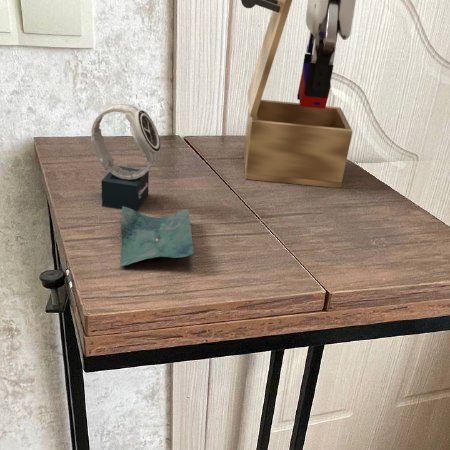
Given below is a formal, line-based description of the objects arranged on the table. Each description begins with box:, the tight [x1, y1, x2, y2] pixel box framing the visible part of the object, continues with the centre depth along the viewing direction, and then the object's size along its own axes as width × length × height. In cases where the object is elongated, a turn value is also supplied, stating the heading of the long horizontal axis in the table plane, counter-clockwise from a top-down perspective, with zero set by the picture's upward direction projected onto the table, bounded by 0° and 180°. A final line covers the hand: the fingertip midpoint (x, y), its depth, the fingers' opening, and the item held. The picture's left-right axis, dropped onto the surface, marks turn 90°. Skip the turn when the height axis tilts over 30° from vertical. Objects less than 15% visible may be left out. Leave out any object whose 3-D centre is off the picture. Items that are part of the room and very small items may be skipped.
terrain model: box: [119, 206, 195, 267], centre depth 70 cm, size 13×8×2 cm, turn 5°
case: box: [243, 98, 353, 189], centre depth 90 cm, size 14×12×8 cm
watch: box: [90, 103, 162, 212], centre depth 75 cm, size 6×8×11 cm
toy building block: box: [296, 62, 332, 109], centre depth 86 cm, size 4×4×8 cm
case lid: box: [240, 0, 293, 118], centre depth 82 cm, size 14×12×6 cm
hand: (313, 90), depth 86 cm, fingers closed on toy building block, 4 cm apart
